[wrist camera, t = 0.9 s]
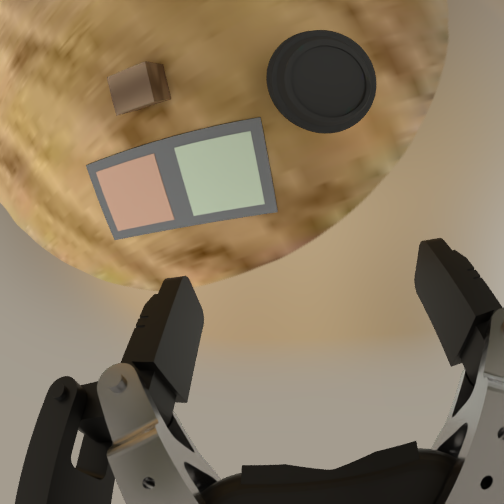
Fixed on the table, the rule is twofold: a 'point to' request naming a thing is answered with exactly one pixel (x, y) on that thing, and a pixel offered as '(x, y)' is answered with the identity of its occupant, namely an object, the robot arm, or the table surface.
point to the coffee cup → (321, 81)
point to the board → (186, 180)
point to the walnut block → (138, 87)
